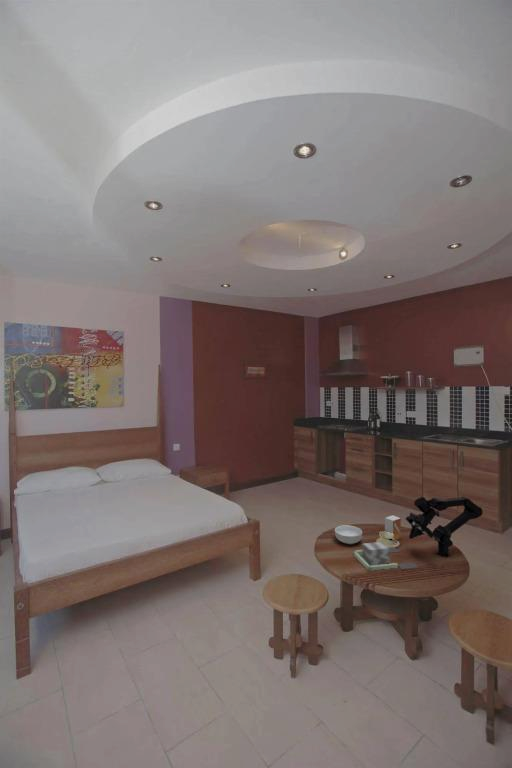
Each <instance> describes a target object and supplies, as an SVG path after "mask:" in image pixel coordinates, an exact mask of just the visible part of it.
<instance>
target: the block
mask: <svg viewBox="0 0 512 768" xmlns="http://www.w3.org/2000/svg"><path fill="white" fill-rule="evenodd" d="M361 546H362V548H361V550H362V552H363V555H362V558H363V559H364V560H365V561H366V562H367V563H368V564H369V565H370V566H373V565H378V564H379V565H382V564H387V563H389V564H391V563H390V561H391V560H390V557H391V555H390V554H391V553H390V548H391V547H389V546H387V545H386V544H385V543H384V542H383V541H380V542H379V541H375V542H367V543H366V542H365V543H362V545H361Z"/></svg>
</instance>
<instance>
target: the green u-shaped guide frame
mask: <svg viewBox="0 0 512 768" xmlns="http://www.w3.org/2000/svg"><path fill="white" fill-rule="evenodd" d="M389 548H390V554H395V553H400V550H399V549H397V548H395V547H389ZM352 555H353V556H354V557H355V558H356V560H358V562H359V563H360V564H361V565H363V567H364V568H365V569H366V570H367V571H368V572H373V571H374V570H376V571H382V570H381V569H385V570H391V569H390V568H394V569H400V568H401V570H402V569H405V570H413V569H419V568H420V567H419V566H418V565H417V564H416V563H414V562H405V563H397V562H393V563H392V562H391V563H389V564H379V565H369V564H368V563H367V562H366V561H365V560H364V559H363V552H362V549H357V550H352ZM398 566H399V567H400V568H399V567H398ZM374 572H375V571H374Z"/></svg>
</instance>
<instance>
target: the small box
mask: <svg viewBox="0 0 512 768" xmlns="http://www.w3.org/2000/svg"><path fill="white" fill-rule="evenodd" d="M401 529H402V520H401V517H398V516H396V515H393V514H392V515H390V516H389V515H388V516H387V517H385V518H384V533H385V532H390V533H393V534H394V537H395V539H396V540H395V541H397V540H400V539H402V537H401V536H402V535H401V533H402V530H401Z"/></svg>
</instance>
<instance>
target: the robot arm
mask: <svg viewBox="0 0 512 768" xmlns="http://www.w3.org/2000/svg"><path fill="white" fill-rule="evenodd" d="M413 504H414V506H415V507H416V508H417V509H418V510H419V511H420V512H421V513H419V514H416V513H413V512H410V513H409V516H406V518H405V521H406V522H408V523H409V524H410V525H411V529H410V532H409V536H408V538H409V539H411V540H412V539H413V538H417V537H419V536H422V535H425V533H426V535H427V536H428V537H429V538H431V539H432V538H434V540H435V541H436V542H437V551H436V552H435V554H437V555H440V556H442V557H446V558H449V557H450V556H451V555H452V552H450V547H453V543H454V542H453V541H452V539H451V537H452V535H453V533H455V531H457V530H459V529H460V528H461V527H462V526H464V525H465V524H466V523H468V522H469V521H470V520H474V519H475V520H476V519H478V518H480V517H481V516H482V515H483V509H482V507H480V506H479V505H477V504H476V503H474V502H473V501H472V500H470V498H467V497H466V496H460V497H452V498H440V497H431V499H426V498H425V497H423V496H421V497H418V498H417V499H415V500H414V502H413ZM462 506H463V507H464V508H463V512H461V514H459V515H458V516H456V517H455V518H454V519H452V520H451V521H450V522H449V523H447V524H446V525H441V524H439V525H438V526H436V527H434V530H431V529H430V528H429V527H428V525H432V520H434V518H435V517H438V518H439V517H440V512H441V511H445V510H447V508H453V507H462Z"/></svg>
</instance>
